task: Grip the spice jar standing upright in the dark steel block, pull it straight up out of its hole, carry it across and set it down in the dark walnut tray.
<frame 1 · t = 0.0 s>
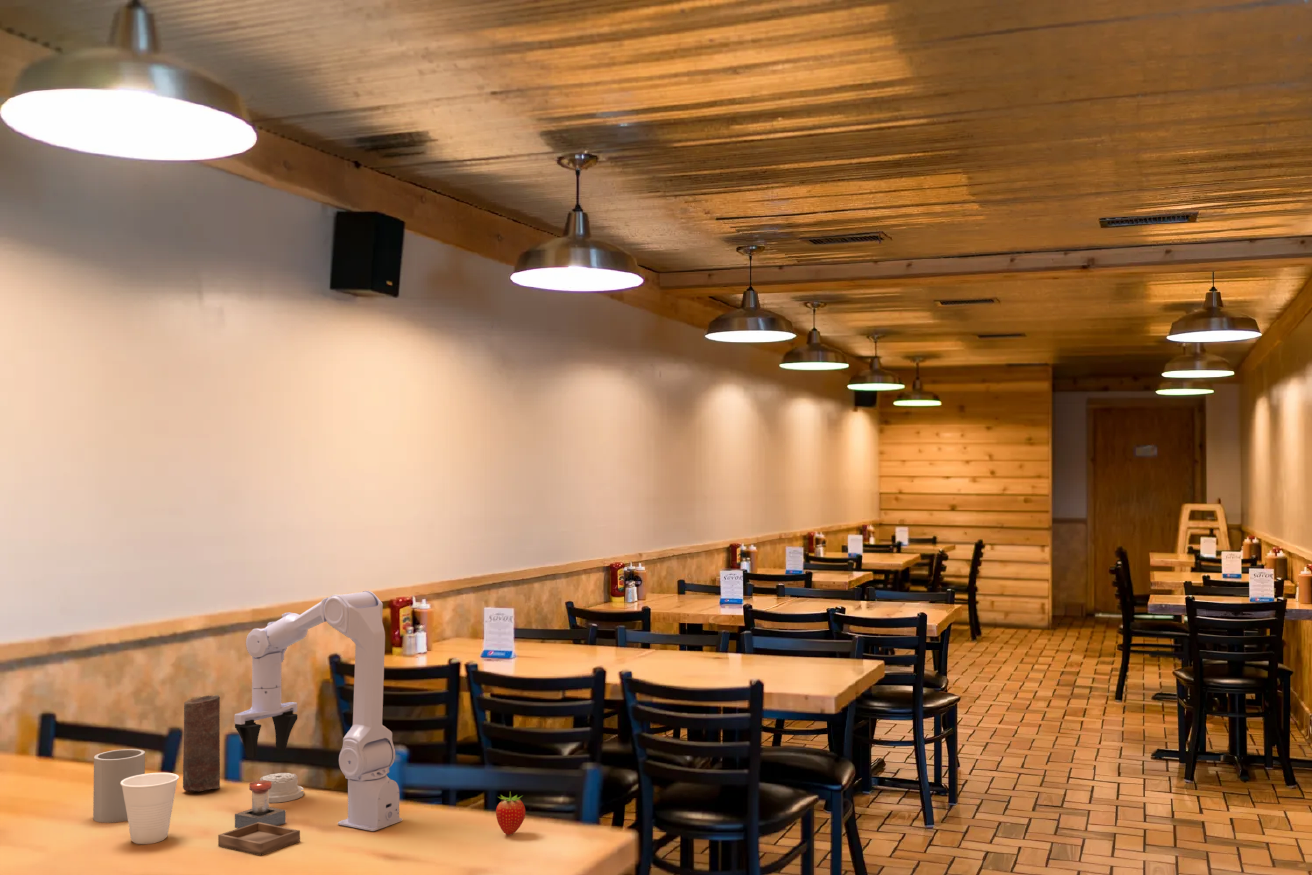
hand: (266, 753, 235), 10 cm above the table, fingers open, 7 cm apart
spice jar: (260, 804, 219), in the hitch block
cup 2: (119, 816, 227), on the table
tray: (259, 843, 208), on the table
white rounded piece: (278, 798, 240), on the table
candle: (201, 792, 244), on the table
fruit: (510, 836, 212), on the table
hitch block: (260, 825, 219), on the table
cup: (149, 840, 211), on the table
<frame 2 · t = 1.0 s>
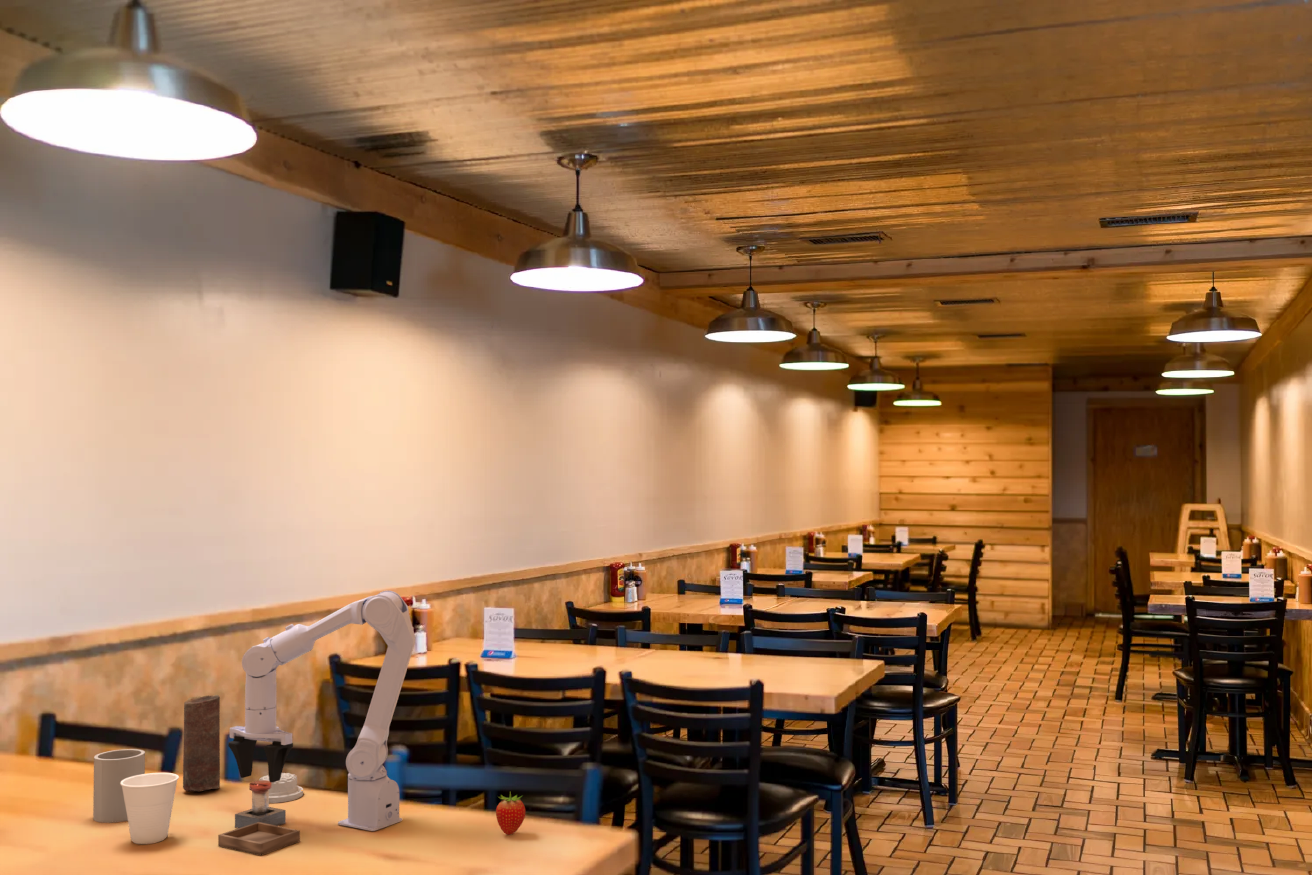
hand: (260, 778, 220), 9 cm above the table, fingers open, 7 cm apart
nothing on the table moved.
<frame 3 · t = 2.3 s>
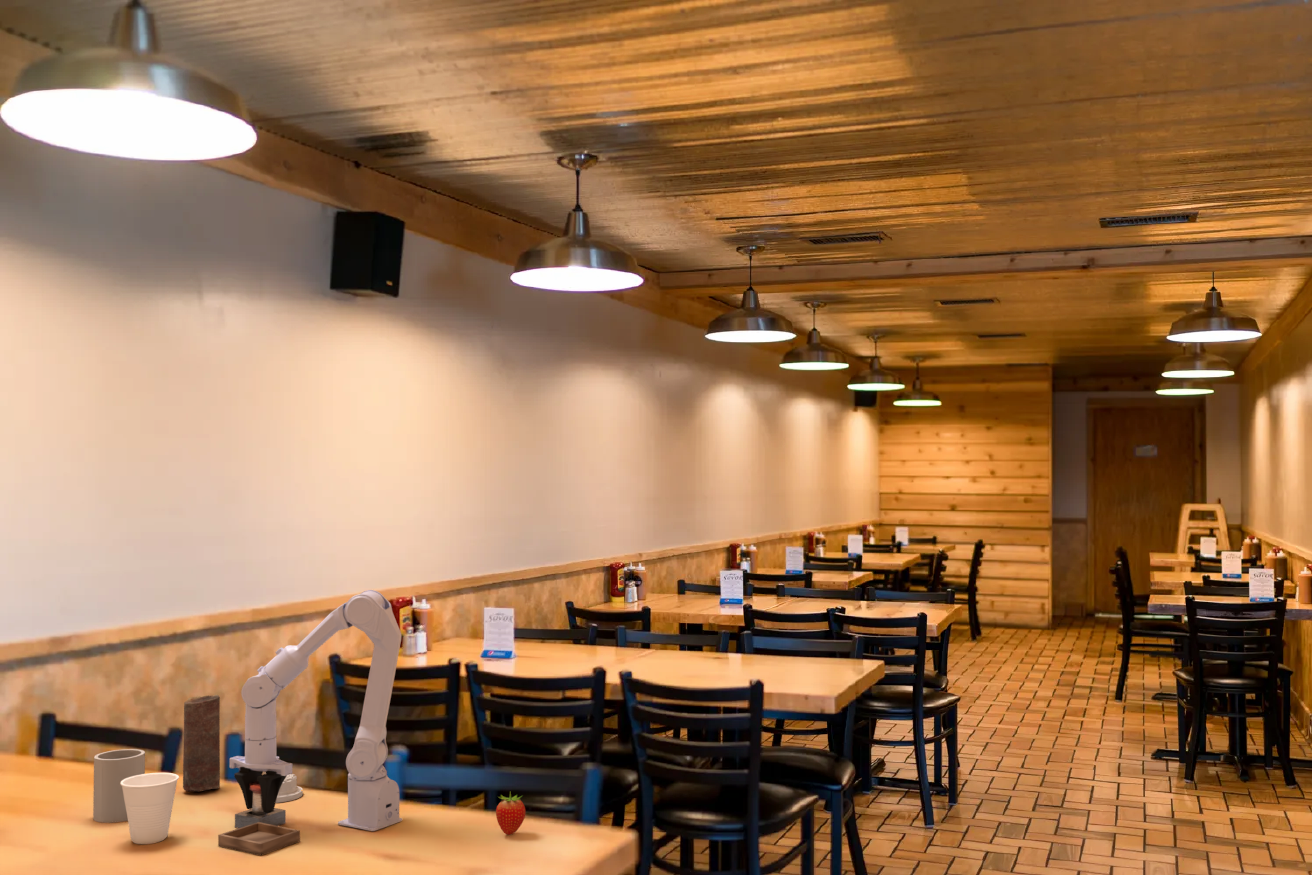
hand: (260, 809, 219), 3 cm above the table, fingers closed on spice jar, 4 cm apart
spice jar: (260, 804, 219), in the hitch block, touching gripper
everything else where it was.
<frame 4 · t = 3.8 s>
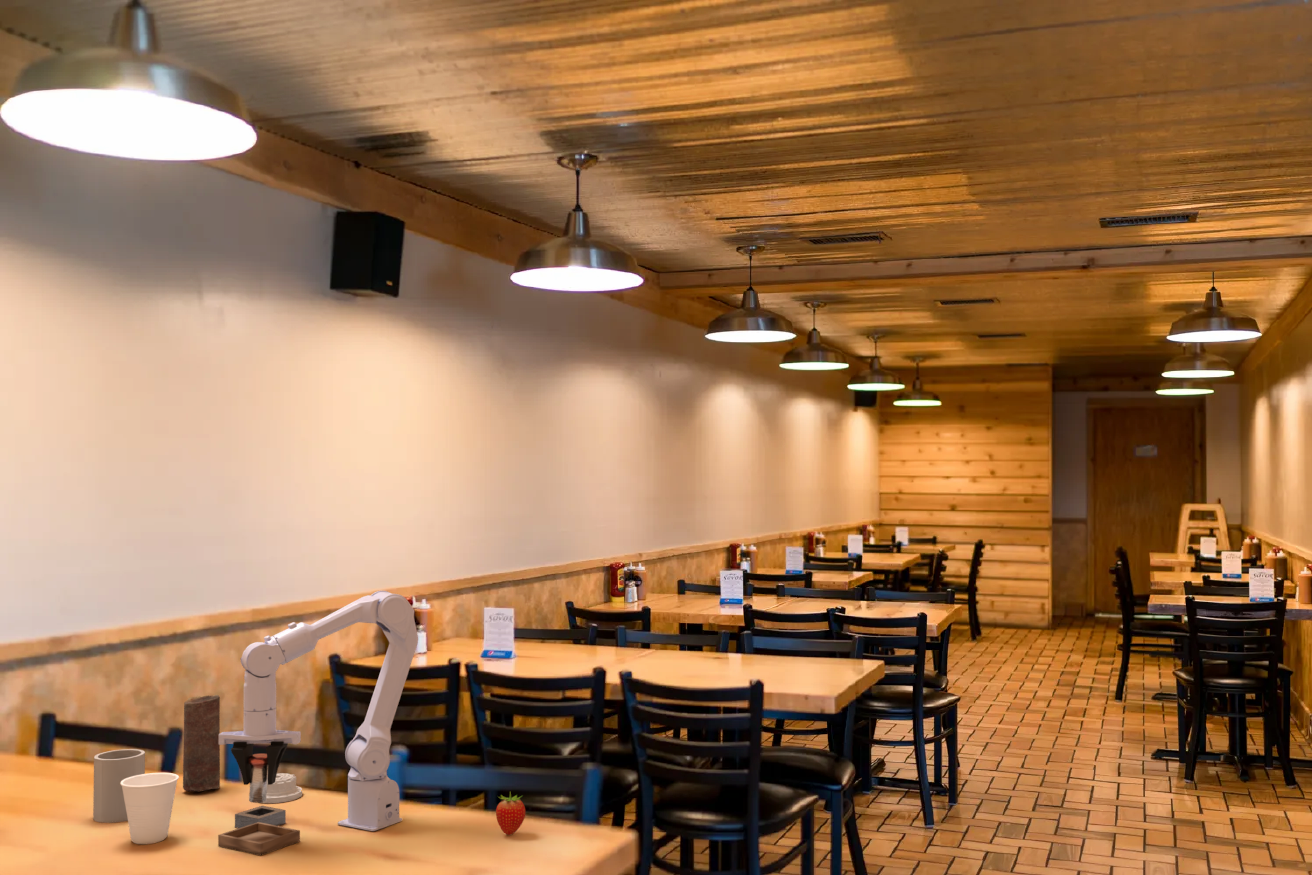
hand: (259, 783, 211), 10 cm above the table, fingers closed on spice jar, 4 cm apart
spice jar: (258, 778, 211), point 11 cm above the table, tilted 5°, touching gripper
everything else where it was.
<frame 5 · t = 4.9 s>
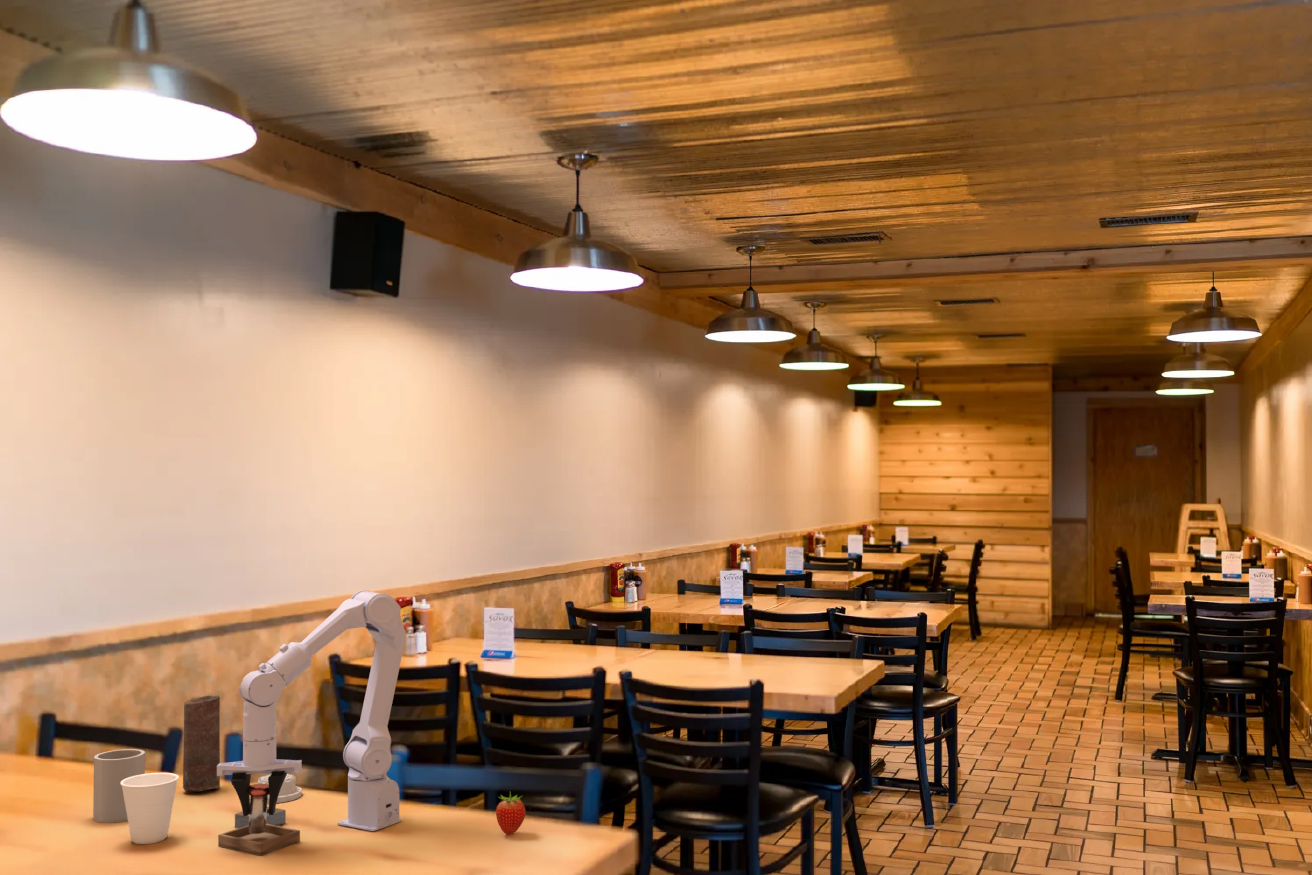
hand: (259, 813, 208), 5 cm above the table, fingers closed on spice jar, 4 cm apart
spice jar: (258, 808, 208), point 6 cm above the table, tilted 6°, touching gripper
everything else where it was.
when the fingers open (4 cm above the table, at t = 5.5 s): spice jar stays where it is, resting on tray.
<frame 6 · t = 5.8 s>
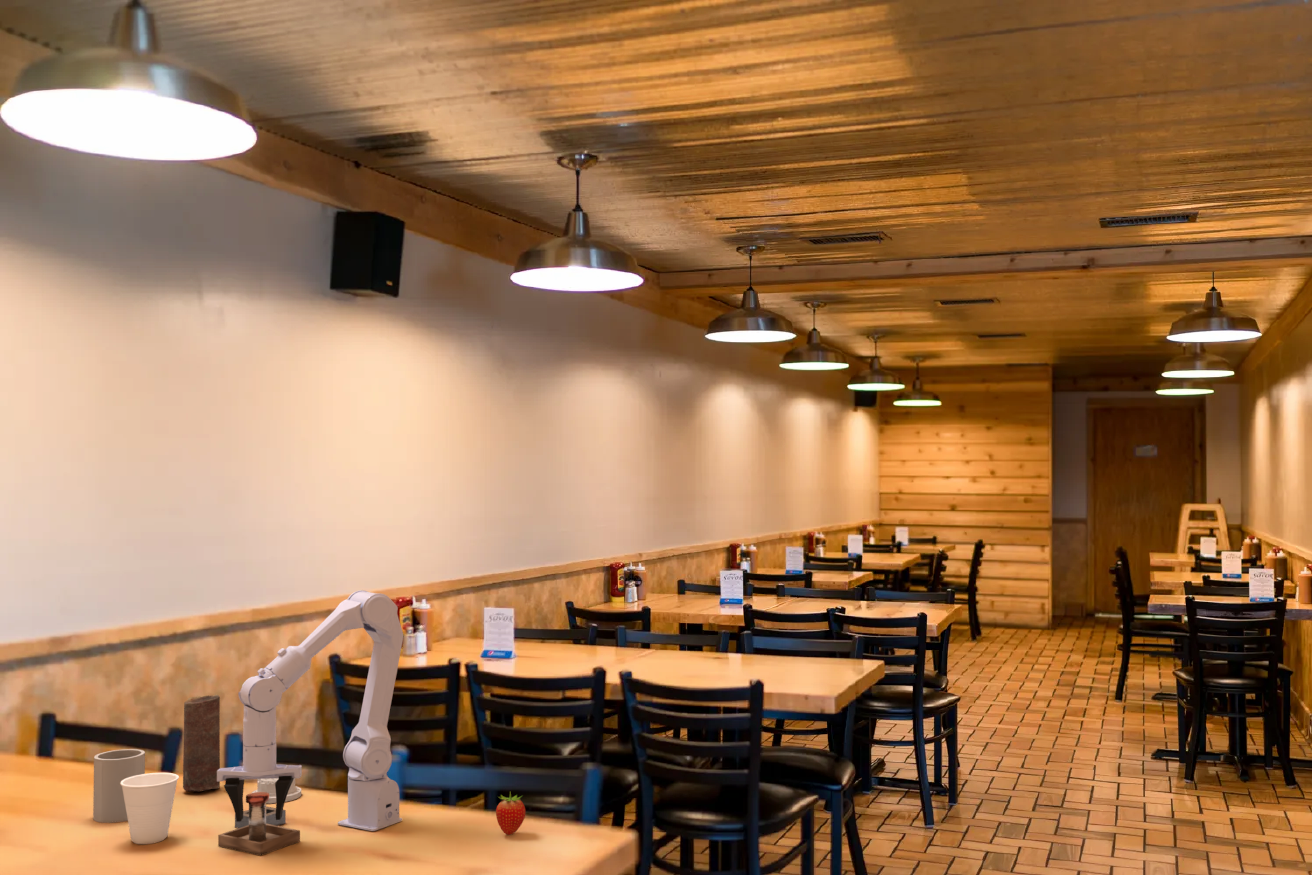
hand: (259, 819, 208), 4 cm above the table, fingers open, 6 cm apart
spice jar: (257, 817, 209), in the tray, point 5 cm above the table
everything else where it was.
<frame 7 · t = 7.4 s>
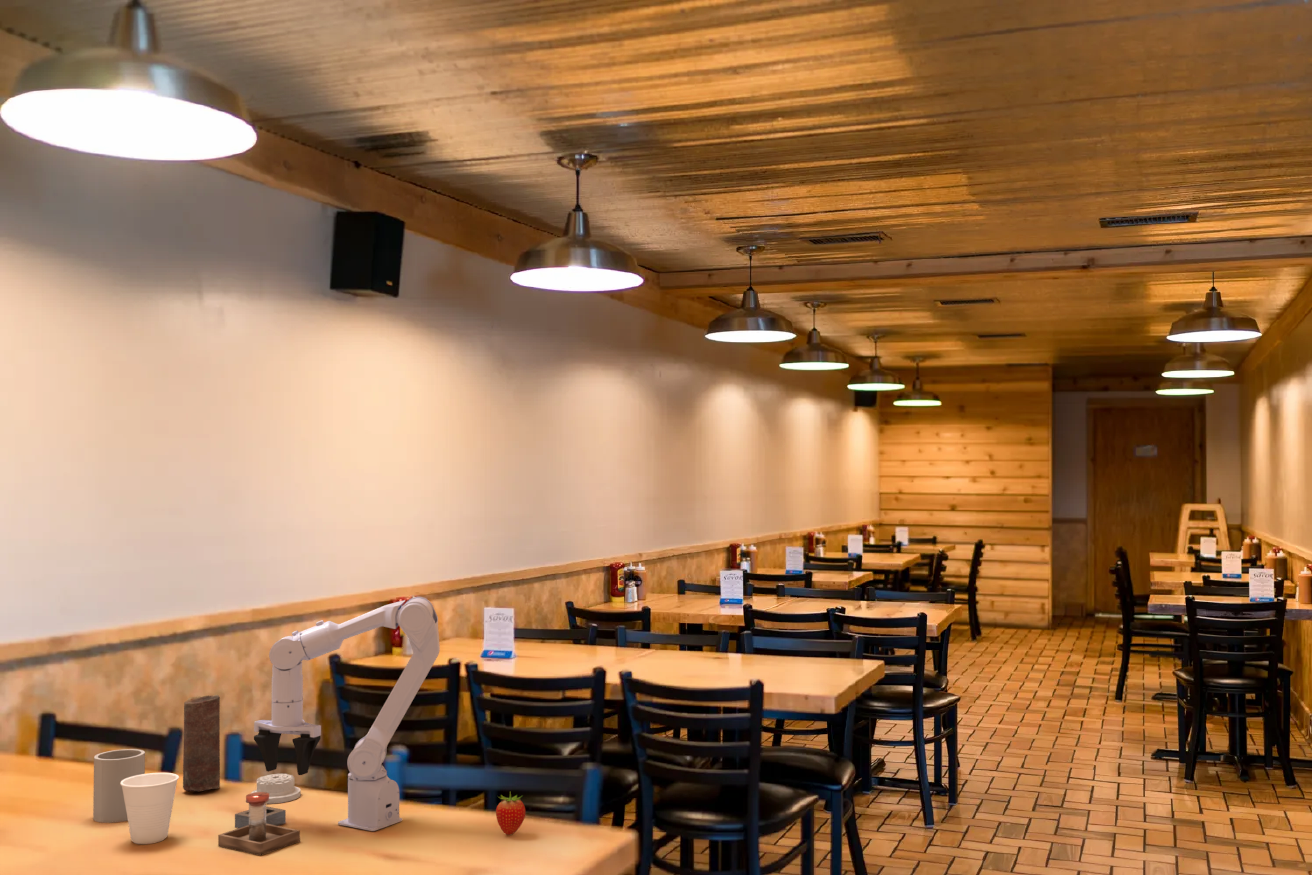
hand: (287, 772, 219), 10 cm above the table, fingers open, 7 cm apart
nothing on the table moved.
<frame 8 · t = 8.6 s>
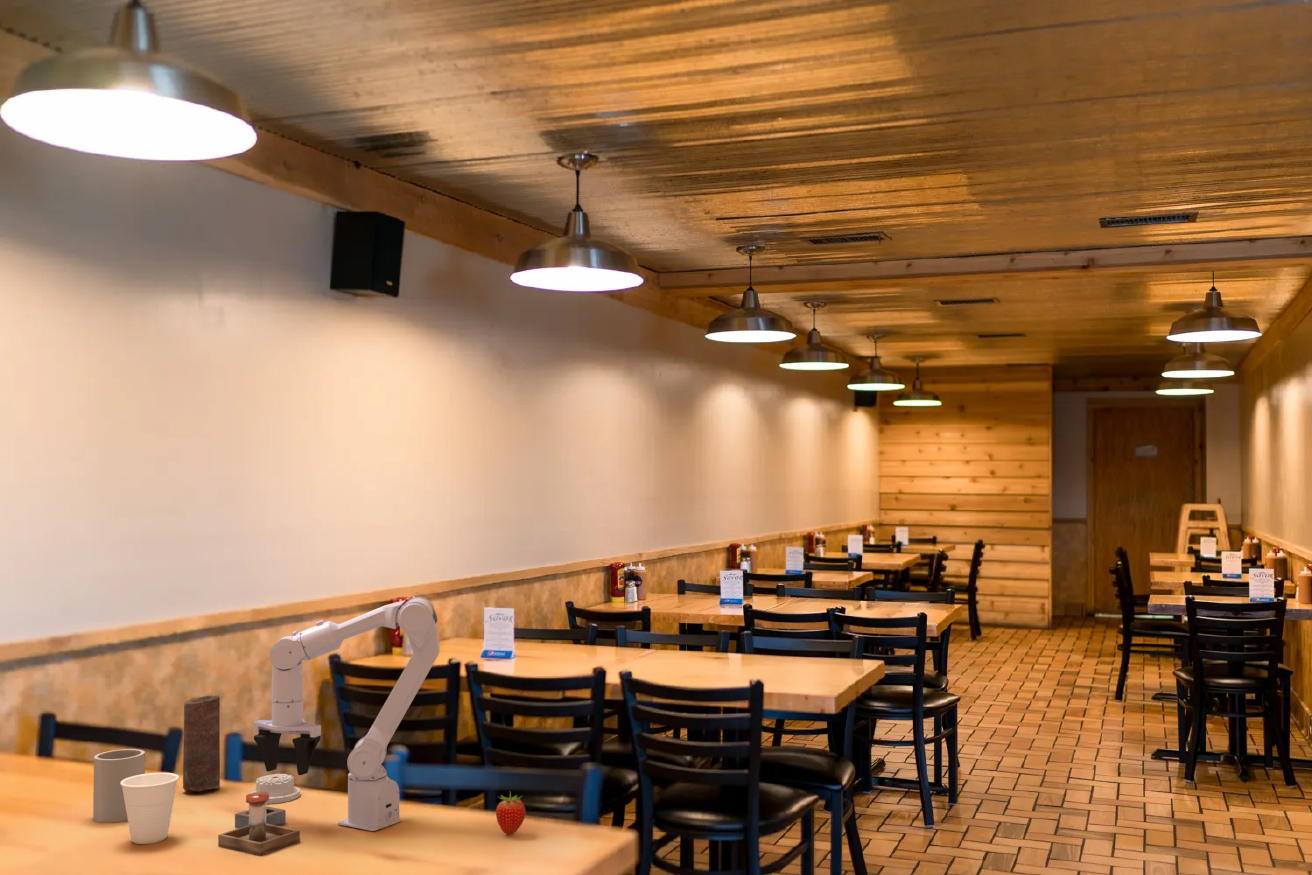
hand: (287, 772, 219), 10 cm above the table, fingers open, 7 cm apart
nothing on the table moved.
at the end: spice jar inside the target area on the tray (0.8 cm from its centre), point 4.6 cm above the tray's base; the gripper is holding nothing; spice jar moved 11.3 cm from its start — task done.
